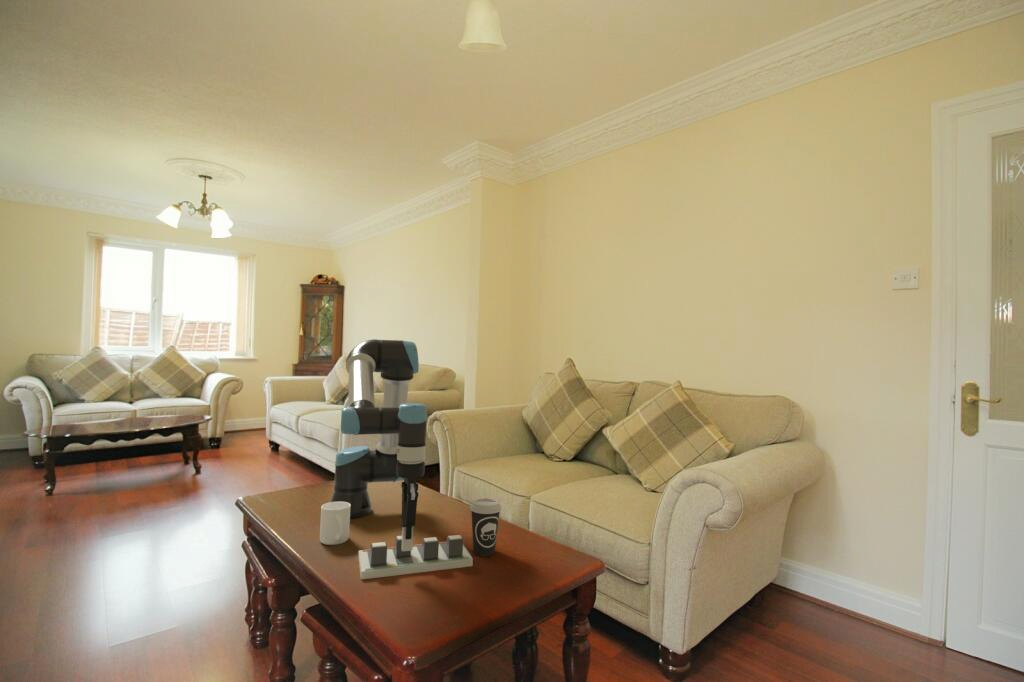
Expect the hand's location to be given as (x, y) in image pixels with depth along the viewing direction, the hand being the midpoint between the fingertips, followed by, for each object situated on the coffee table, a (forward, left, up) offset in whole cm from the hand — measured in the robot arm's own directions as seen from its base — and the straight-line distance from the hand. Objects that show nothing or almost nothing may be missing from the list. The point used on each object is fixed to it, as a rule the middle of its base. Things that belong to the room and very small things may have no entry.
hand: (406, 549), depth 128 cm
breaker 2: (-7, 0, -4) cm, 8 cm away
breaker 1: (-3, -7, -4) cm, 9 cm away
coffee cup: (-8, +25, -7) cm, 27 cm away
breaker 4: (-3, +14, -4) cm, 15 cm away
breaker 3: (-3, +7, -4) cm, 9 cm away
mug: (-27, -17, -7) cm, 33 cm away
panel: (-7, +4, -6) cm, 10 cm away
